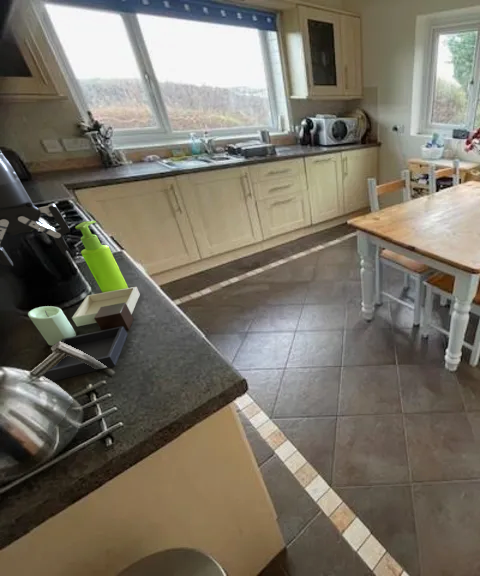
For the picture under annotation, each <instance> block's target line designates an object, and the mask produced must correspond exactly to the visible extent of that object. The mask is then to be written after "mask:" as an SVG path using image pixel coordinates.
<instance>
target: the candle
mask: <svg viewBox="0 0 480 576" xmlns="http://www.w3.org/2000/svg"><path fill="white" fill-rule="evenodd" d="M27 316H28V317H29V319H30V320H31V322H32V323H33V325H34V326H35V328H36V329H37V330H38V332H39V333H40V335H41V336H42V337H43V339H44V340H45V342H46V343H47V344H48V346H51V347H52V346H53V345H54V344H56V343H57V342H59V341H61V340H62V339H64V338H69V337H73V336H77V332H76V330H75V329H74V327H73V325H72V324H71V323H70V321H69V320H68V318H67V316H66V315H65V312H64V311H63V310H62V308H60V307H58V306H52V305H50V306H49V305H47V306H46V305H45V306H39V307H35V308H33V309H31V310H30V311H28V312H27ZM53 347H54V346H53Z"/></svg>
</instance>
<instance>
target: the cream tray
mask: <svg viewBox="0 0 480 576" xmlns="http://www.w3.org/2000/svg"><path fill="white" fill-rule="evenodd" d="M140 295H141V293H140V291H139V289H138V286H132V287H128V288H126V289H120V290H115V291H109V292H103V293H102V292H99V293H93V294H87V295H86V296H85V298H84V300H83V301H81V304H80V305H79V306H78V308H77V310H76V311H75V312H74V314H73V316H72V317H71V319H72V321H73V323H74V324H75V326H76V327H82V326H83V327H84V326H86V325H92V324H97V322H96V321H95V319H94V318H95V316H96V314H97V313H98V311H99V309H100V307H104V306H109V305H114V304H119V303H126V305H127V307H128V309H129V311H130V313H131V315H132V316H133V312H134V310H135V307H136V306H137V303H138V300H139V298H140Z"/></svg>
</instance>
